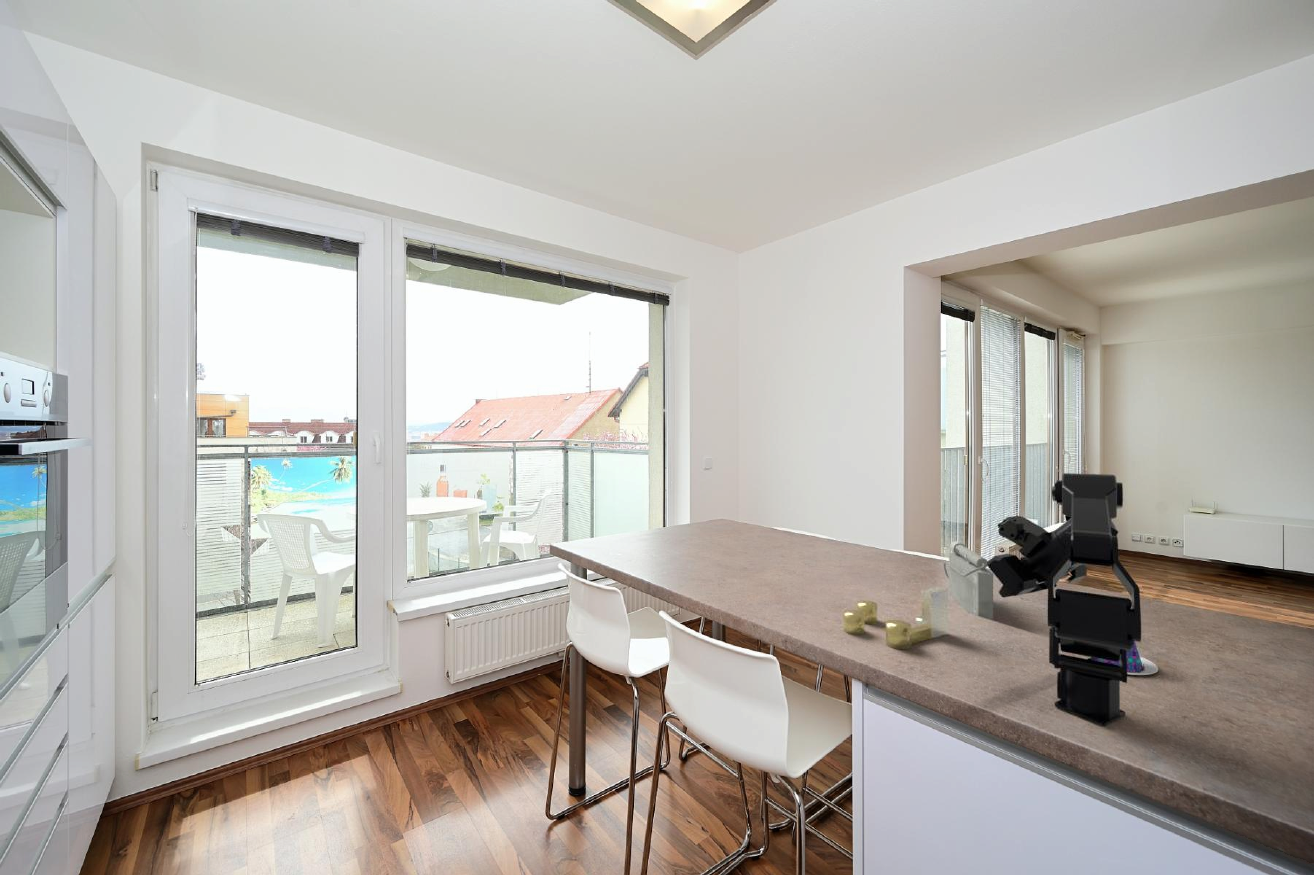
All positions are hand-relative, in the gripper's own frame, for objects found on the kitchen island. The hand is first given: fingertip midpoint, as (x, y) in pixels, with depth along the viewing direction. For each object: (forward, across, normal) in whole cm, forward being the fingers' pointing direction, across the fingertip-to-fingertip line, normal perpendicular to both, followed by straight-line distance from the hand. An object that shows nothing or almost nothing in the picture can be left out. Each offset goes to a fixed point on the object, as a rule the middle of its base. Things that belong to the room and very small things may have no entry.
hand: (1001, 594), depth 94 cm
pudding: (+5, -21, +15) cm, 26 cm away
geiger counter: (+28, -28, -9) cm, 41 cm away
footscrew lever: (+18, +4, -1) cm, 19 cm away
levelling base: (+22, +3, -2) cm, 22 cm away
